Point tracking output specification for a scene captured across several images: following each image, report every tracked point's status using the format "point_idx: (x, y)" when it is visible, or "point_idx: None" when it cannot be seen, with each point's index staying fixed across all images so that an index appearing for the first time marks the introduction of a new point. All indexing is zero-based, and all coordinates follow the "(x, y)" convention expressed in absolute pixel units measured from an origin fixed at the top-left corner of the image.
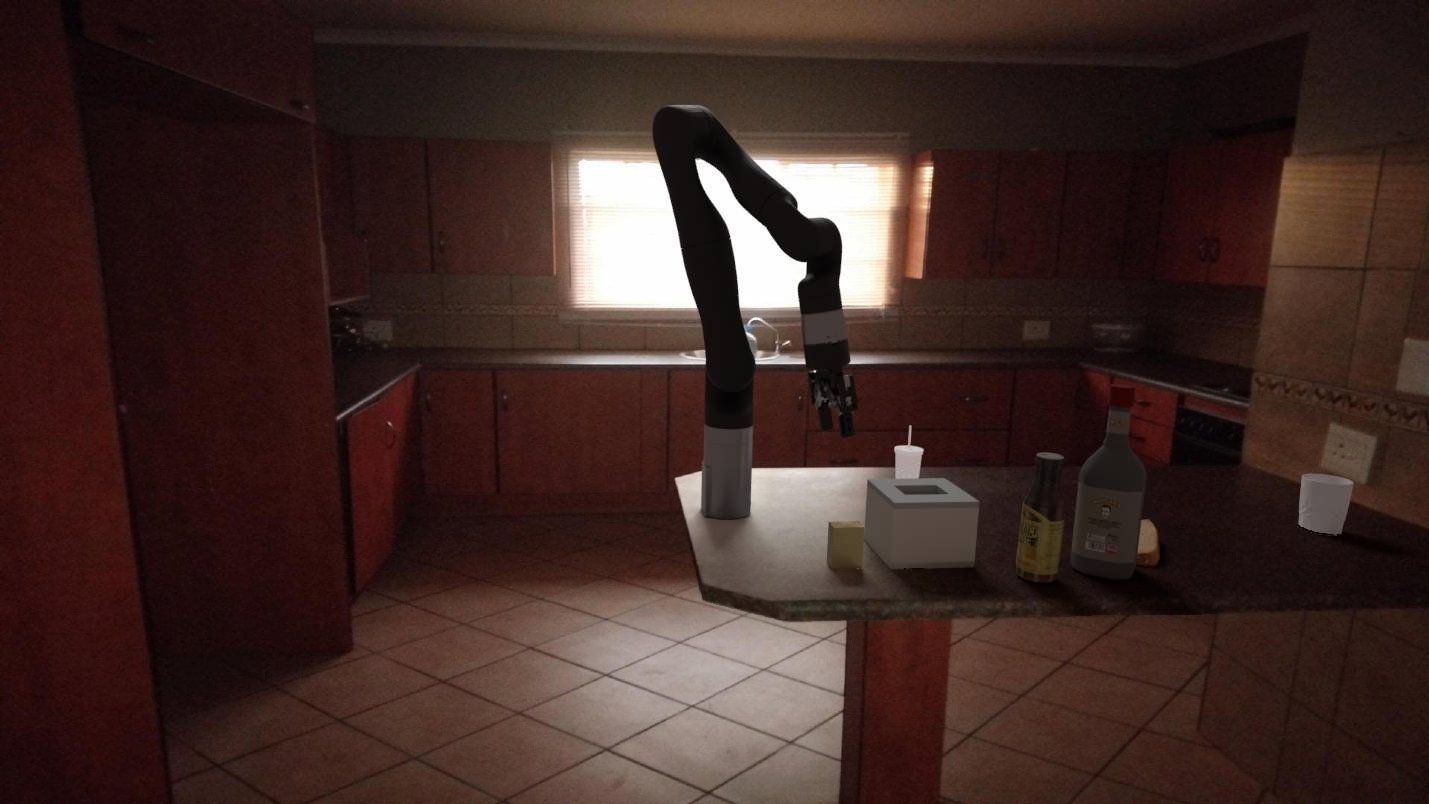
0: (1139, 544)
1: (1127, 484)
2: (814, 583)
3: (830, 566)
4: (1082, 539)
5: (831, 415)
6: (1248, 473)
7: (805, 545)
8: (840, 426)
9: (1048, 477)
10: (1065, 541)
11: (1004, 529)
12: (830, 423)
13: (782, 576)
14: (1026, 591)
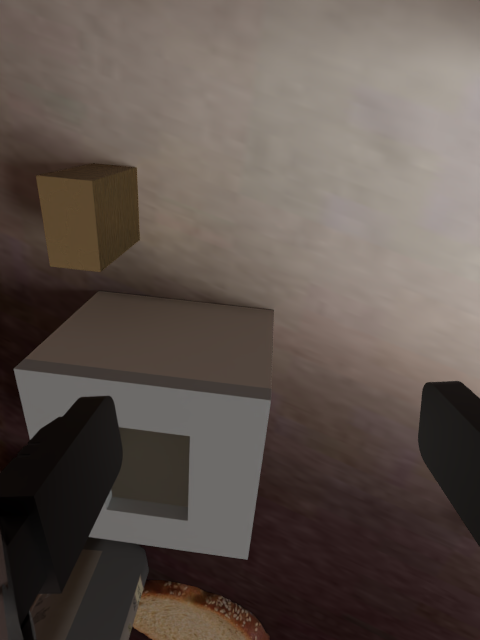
0: (156, 620)
1: None
2: (8, 88)
3: (101, 164)
4: (70, 575)
5: (466, 522)
6: None
7: (262, 154)
8: (54, 434)
9: None
10: (214, 572)
11: (279, 539)
12: (437, 462)
13: (44, 7)
14: (19, 439)
